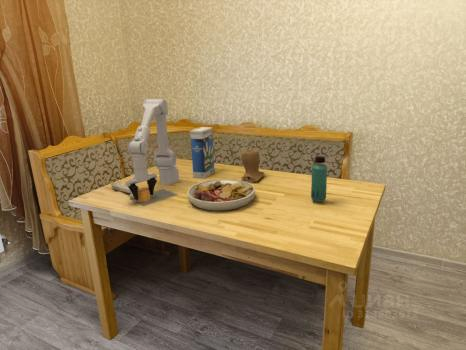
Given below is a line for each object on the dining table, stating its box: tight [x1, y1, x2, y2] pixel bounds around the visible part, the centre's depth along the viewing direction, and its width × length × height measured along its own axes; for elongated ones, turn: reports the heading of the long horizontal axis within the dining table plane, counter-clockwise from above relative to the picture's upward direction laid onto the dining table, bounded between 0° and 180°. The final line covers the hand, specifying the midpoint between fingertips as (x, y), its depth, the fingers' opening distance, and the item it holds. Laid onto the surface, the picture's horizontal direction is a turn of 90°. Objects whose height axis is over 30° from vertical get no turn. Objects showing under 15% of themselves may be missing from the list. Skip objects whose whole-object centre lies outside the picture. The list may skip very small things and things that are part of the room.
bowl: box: [187, 178, 256, 212], centre depth 149 cm, size 30×30×8 cm
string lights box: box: [189, 126, 215, 179], centre depth 183 cm, size 13×8×26 cm, turn 159°
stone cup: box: [240, 149, 265, 183], centre depth 176 cm, size 15×12×15 cm
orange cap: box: [138, 187, 151, 202], centre depth 149 cm, size 5×5×5 cm
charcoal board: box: [129, 188, 178, 207], centre depth 153 cm, size 18×12×4 cm, turn 135°
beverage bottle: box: [310, 155, 328, 202], centre depth 141 cm, size 6×7×20 cm
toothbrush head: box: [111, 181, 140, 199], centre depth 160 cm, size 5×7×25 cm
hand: (144, 197), depth 149 cm, fingers open, 7 cm apart
